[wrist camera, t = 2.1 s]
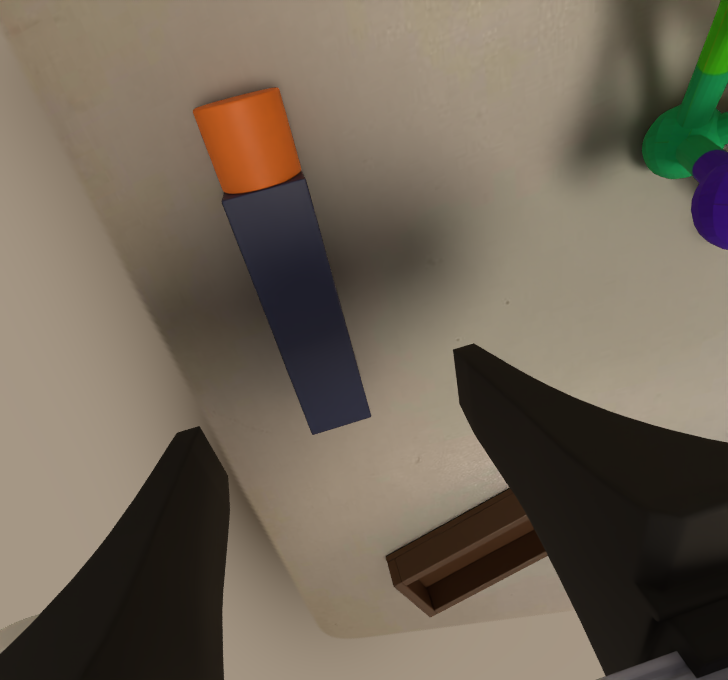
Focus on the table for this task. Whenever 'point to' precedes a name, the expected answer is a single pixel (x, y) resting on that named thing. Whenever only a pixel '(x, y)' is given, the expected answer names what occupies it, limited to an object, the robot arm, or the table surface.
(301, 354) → the marker
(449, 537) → the pen tray
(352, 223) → the table surface
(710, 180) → the decorative model
